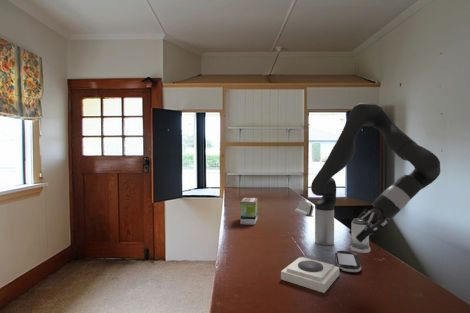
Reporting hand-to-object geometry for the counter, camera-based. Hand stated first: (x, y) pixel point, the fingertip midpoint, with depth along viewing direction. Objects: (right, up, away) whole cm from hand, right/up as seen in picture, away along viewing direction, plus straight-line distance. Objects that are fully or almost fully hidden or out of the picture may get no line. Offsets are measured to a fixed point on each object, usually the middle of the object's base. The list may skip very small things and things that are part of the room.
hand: (354, 236), depth 93 cm
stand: (-13, -18, +9) cm, 23 cm away
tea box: (-31, -16, +88) cm, 94 cm away
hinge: (+11, -15, +109) cm, 111 cm away
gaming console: (+6, -18, +21) cm, 28 cm away
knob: (+2, -4, 0) cm, 5 cm away
